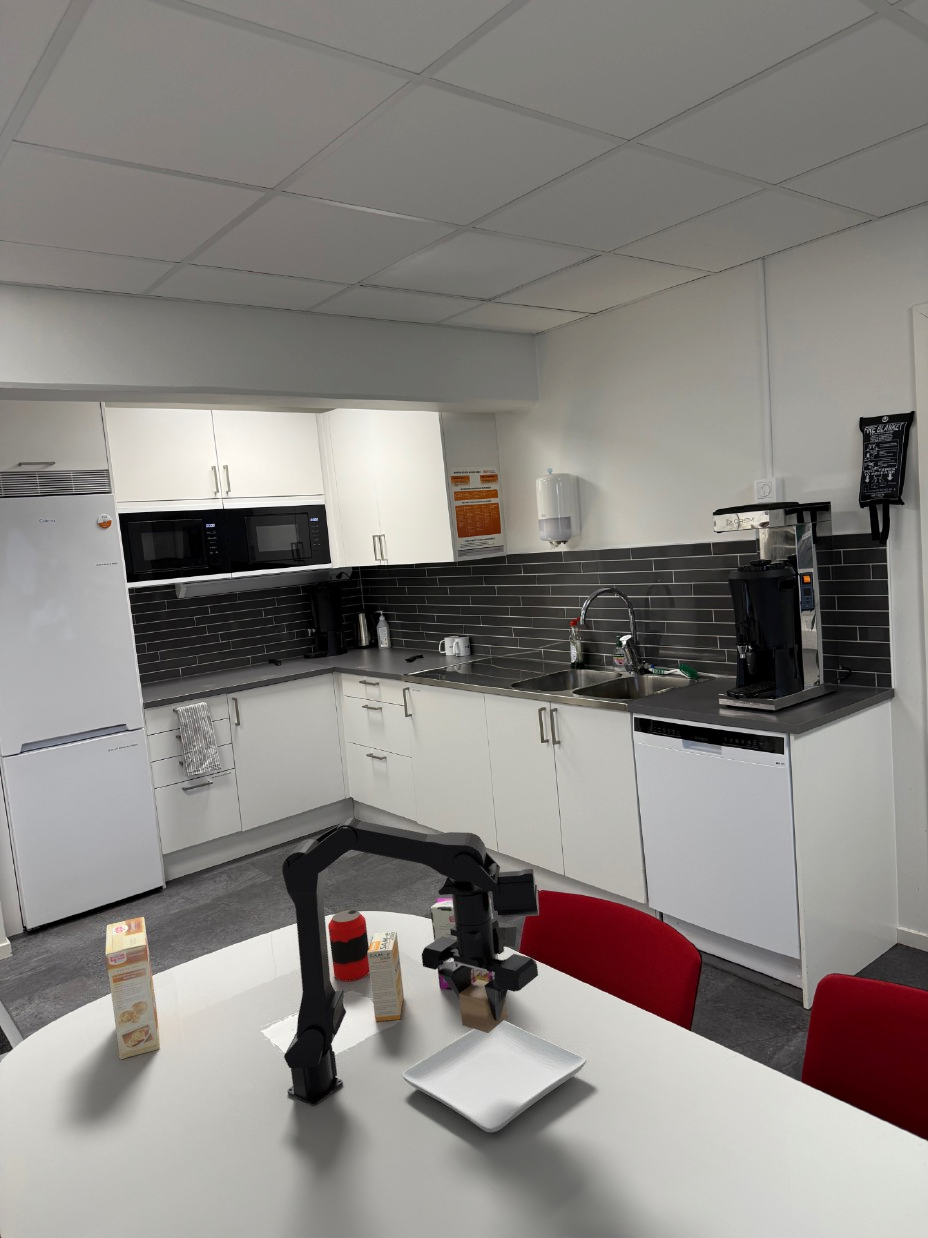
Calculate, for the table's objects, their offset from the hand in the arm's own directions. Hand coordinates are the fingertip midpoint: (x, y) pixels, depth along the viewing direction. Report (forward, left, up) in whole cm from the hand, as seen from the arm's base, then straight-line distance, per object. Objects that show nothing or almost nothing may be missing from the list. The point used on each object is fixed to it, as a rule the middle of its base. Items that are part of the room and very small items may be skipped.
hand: (483, 1015), depth 134 cm
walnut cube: (0, 0, -1) cm, 1 cm away
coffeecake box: (-20, +67, -11) cm, 71 cm away
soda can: (+16, +47, -11) cm, 51 cm away
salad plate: (0, -1, -12) cm, 12 cm away
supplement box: (+9, +30, -11) cm, 33 cm away
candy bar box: (+23, +22, -11) cm, 34 cm away
